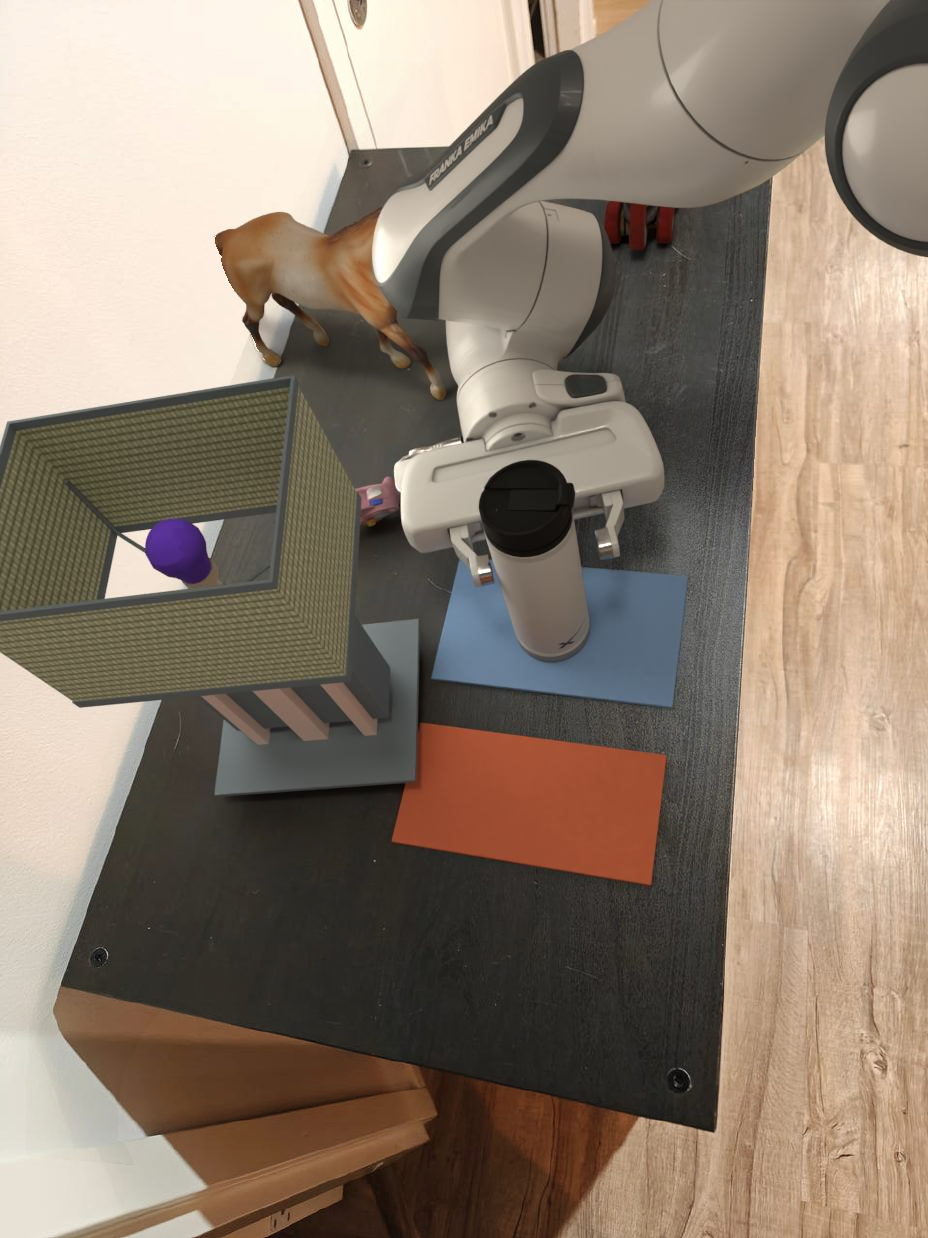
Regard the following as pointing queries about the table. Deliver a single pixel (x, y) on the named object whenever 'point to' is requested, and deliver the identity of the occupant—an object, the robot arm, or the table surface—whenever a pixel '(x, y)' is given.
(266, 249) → the horse figurine
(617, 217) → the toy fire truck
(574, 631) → the travel mug
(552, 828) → the terracotta mat
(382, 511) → the pink toy
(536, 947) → the table surface
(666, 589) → the blue mat
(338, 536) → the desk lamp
